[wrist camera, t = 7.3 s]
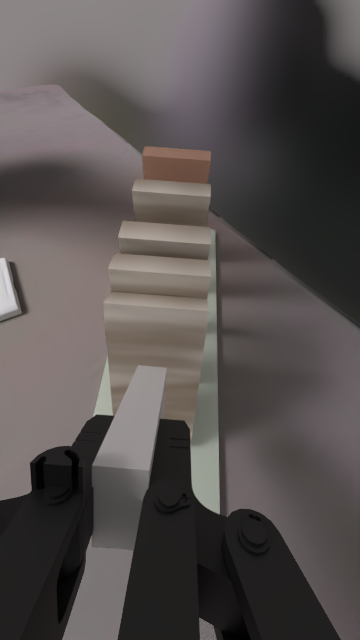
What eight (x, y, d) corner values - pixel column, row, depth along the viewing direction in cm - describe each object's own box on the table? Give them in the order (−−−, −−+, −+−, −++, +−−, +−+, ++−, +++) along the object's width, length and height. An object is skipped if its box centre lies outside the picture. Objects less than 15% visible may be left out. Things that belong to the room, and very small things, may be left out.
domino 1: (197, 259, 30) (210, 160, 20) (150, 256, 30) (142, 155, 20) (197, 250, 31) (210, 151, 21) (152, 247, 31) (144, 146, 21)
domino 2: (195, 293, 27) (210, 196, 18) (144, 289, 27) (131, 190, 18) (196, 282, 28) (210, 184, 18) (146, 278, 28) (135, 178, 19)
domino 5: (190, 444, 18) (209, 311, 13) (114, 438, 18) (103, 302, 13) (190, 426, 20) (207, 298, 15) (120, 420, 20) (111, 291, 15)
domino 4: (192, 381, 21) (210, 276, 14) (127, 376, 21) (107, 268, 14) (193, 366, 22) (210, 260, 15) (131, 361, 23) (114, 253, 15)
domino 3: (194, 333, 24) (210, 244, 15) (137, 329, 24) (117, 237, 15) (194, 319, 25) (210, 227, 16) (139, 315, 25) (122, 220, 16)
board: (218, 520, 17) (219, 521, 17) (73, 508, 17) (70, 509, 17) (214, 233, 33) (215, 229, 33) (139, 227, 33) (139, 224, 33)
